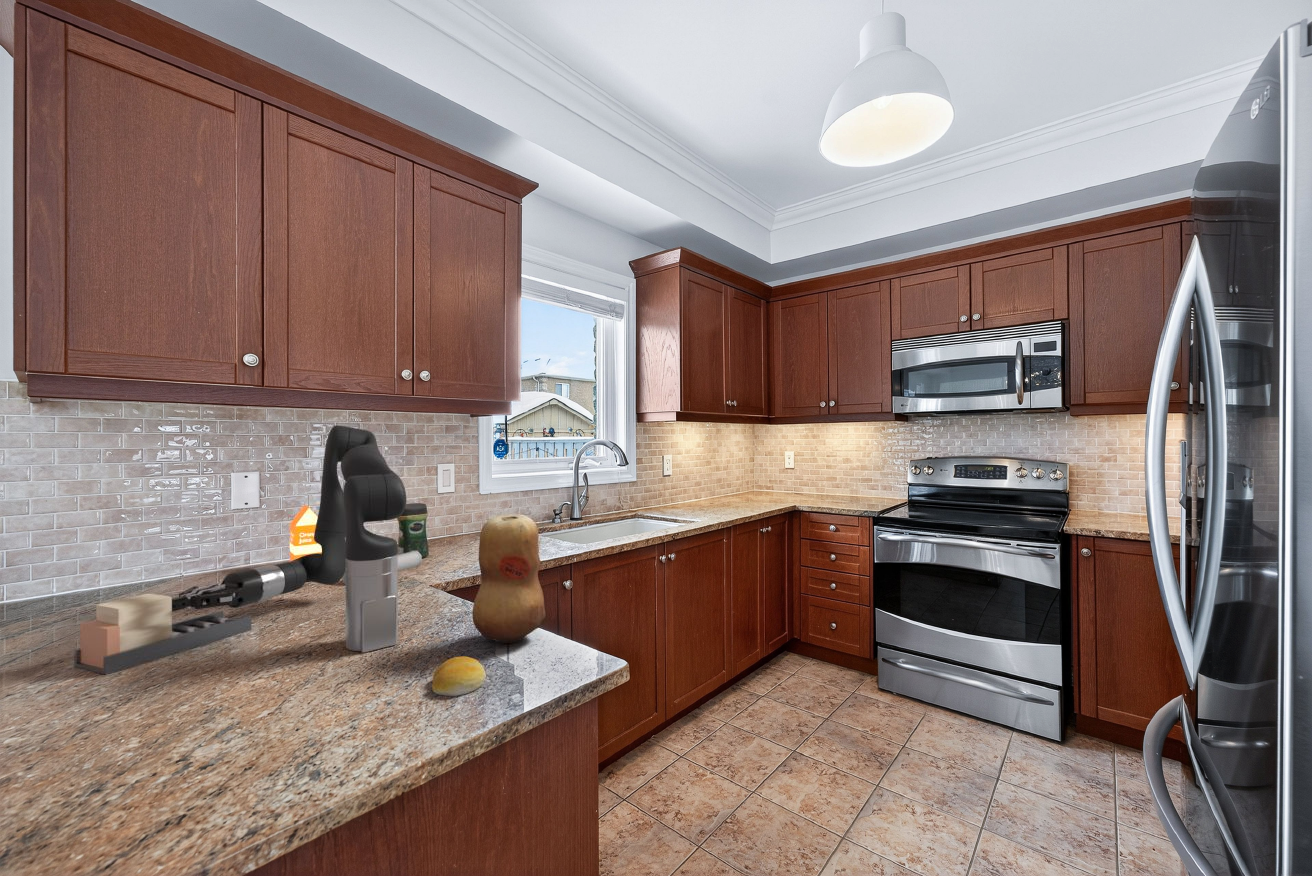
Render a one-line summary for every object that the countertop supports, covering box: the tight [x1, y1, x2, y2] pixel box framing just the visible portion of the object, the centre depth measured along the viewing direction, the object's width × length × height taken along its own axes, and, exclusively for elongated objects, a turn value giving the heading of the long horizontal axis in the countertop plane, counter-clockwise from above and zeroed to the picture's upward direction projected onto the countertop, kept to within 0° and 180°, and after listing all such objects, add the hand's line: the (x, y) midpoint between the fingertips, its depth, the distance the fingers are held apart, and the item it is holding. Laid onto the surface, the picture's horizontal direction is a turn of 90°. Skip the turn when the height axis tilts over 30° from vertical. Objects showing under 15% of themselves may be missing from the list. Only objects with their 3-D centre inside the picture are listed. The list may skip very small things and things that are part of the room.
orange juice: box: [289, 504, 322, 562], centre depth 171 cm, size 8×9×20 cm
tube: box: [341, 551, 423, 585], centre depth 165 cm, size 5×5×25 cm
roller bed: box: [73, 610, 253, 675], centre depth 108 cm, size 24×10×3 cm, turn 159°
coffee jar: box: [396, 502, 430, 559], centre depth 188 cm, size 10×8×19 cm
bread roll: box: [431, 656, 487, 697], centre depth 91 cm, size 8×9×4 cm
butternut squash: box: [472, 513, 546, 644], centre depth 110 cm, size 14×13×25 cm
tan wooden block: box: [95, 593, 173, 652], centre depth 103 cm, size 8×7×8 cm
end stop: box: [80, 620, 120, 668], centre depth 98 cm, size 2×8×7 cm, turn 69°
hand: (160, 607), depth 107 cm, fingers closed
